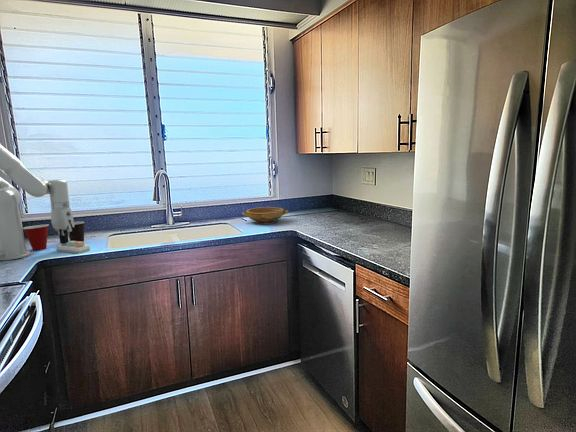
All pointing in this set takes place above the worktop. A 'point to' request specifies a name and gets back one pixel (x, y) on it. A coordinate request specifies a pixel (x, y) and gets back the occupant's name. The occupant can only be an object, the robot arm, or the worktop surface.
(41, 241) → the plastic cup
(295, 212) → the worktop surface
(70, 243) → the sage key
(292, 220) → the worktop surface
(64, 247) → the keypad
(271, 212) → the ceramic bowl
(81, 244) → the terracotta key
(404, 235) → the worktop surface
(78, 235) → the coffee mug
